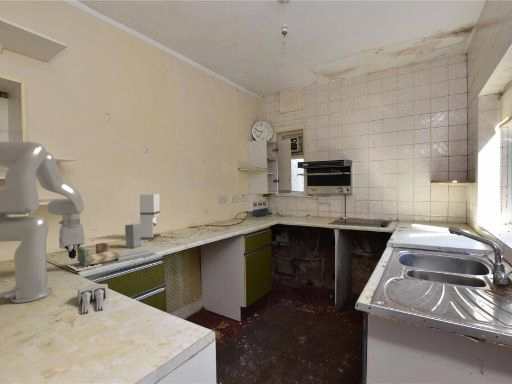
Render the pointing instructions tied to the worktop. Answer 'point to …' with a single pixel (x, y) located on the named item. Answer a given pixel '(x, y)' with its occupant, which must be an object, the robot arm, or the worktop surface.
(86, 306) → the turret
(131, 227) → the skincare box
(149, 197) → the white square column
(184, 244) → the worktop surface
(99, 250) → the walnut block
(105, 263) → the rail track
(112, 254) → the multicoloured piece
